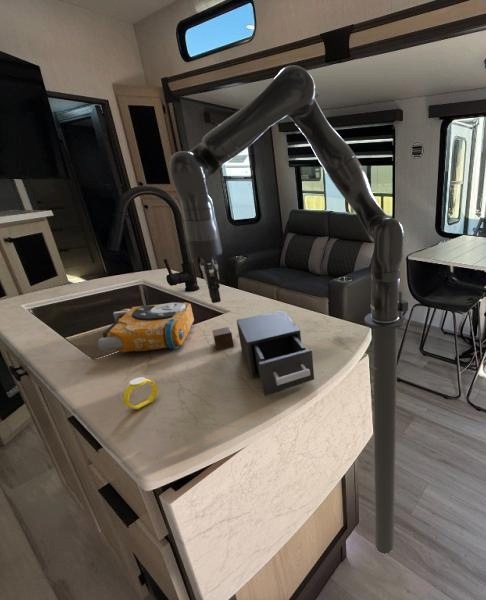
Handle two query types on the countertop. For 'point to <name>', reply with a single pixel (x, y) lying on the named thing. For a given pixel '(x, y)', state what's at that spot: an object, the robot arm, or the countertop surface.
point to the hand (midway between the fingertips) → (215, 299)
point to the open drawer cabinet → (282, 363)
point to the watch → (137, 383)
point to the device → (148, 328)
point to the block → (223, 338)
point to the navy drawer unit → (263, 333)
